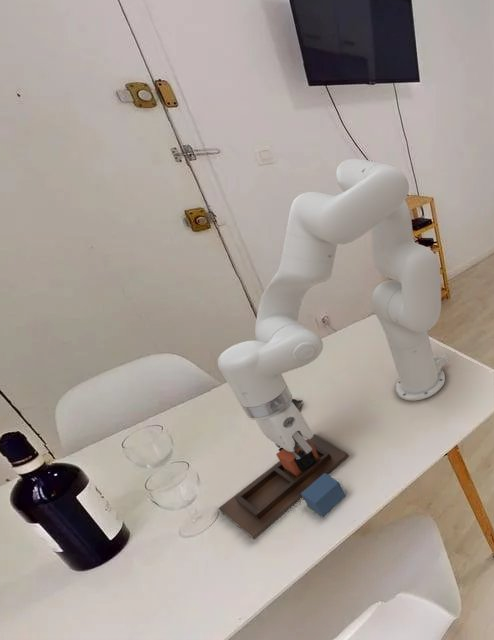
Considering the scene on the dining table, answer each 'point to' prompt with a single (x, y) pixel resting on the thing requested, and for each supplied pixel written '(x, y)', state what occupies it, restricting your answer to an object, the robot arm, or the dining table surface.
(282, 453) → the orange-brown block
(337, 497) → the blue block
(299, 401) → the arrowhead
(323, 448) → the dark brown flat tray
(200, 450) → the dining table surface
